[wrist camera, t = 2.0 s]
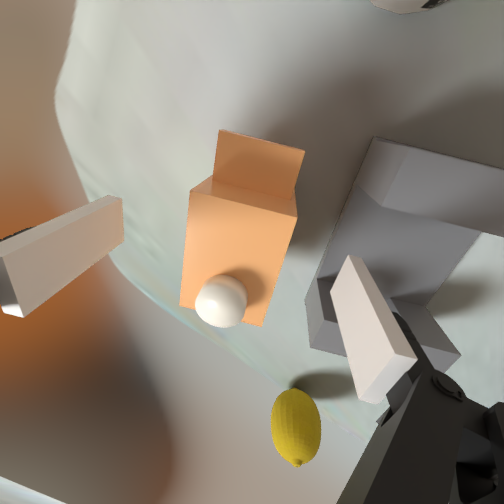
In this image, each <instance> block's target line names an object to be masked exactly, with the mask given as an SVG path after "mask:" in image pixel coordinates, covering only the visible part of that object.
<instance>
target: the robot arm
mask: <svg viewBox="0 0 504 504" xmlns="http://www.w3.org/2000/svg"><path fill="white" fill-rule="evenodd" d="M123 241H124V228H123V210H122V198H119V197H115V196H111V195H107V196H105V197H103V198H100V199H98V200H96V201H94V202H91V203H89V204H87V205H84V206H82V207H80V208H77V209H75V210H73V211H71V212H68V213H66V214H64V215H62V216H59V217H57V218H55V219H52V220H50V221H48V222H45V223H43V224H41V225H38V226H35V227H30V228H26V229H24V230H21V231H19V232H17V233H14V234H13V235H9V236H7V237H5V238H3V240H2V239H0V304H1V306H2V309H3V311H4V313H7V314H11V315H15V316H19V317H25V316H26V315H28V314H29V313H30V312H32V311H33V310H34V309H36V308H37V307H38V306H40V305H41V304H42V303H43V302H45V301H46V300H47V299H49V298H50V297H51V296H53V295H54V294H55V293H57V292H58V291H59V290H60V289H62V288H63V287H64V286H66V285H67V284H68V283H70V282H71V281H72V280H73V279H75V278H76V277H77V276H79V275H80V274H81V273H83V272H84V271H85V270H87V269H88V268H89V267H91V266H92V265H93V264H95V263H96V262H97V261H98V260H100V259H101V258H102V257H104V256H105V255H106V254H108V253H109V252H110V251H112V250H113V249H114V248H115V247H117V246H118V245H119V244H121V243H122V242H123ZM330 294H331V297H332V301H333V305H334V309H335V312H336V316H337V320H338V324H339V327H340V331H341V335H342V339H343V342H344V346H345V350H346V354H347V357H348V361H349V365H350V369H351V372H352V376H353V380H354V384H355V387H356V391H357V395H358V399H359V400H361V401H365V402H369V403H373V404H379V403H380V402H381V401H382V400H383V399H384V398H385V396H387V399H388V402H389V404H390V407H389V408H388V409H387V410H386V411H385V412H384V413H383V415H382V416H381V417H380V418H379V419H378V420H377V421H376V422H377V423H378V424H379V425H378V426H377V428H376V430H375V432H374V434H373V436H372V438H371V440H370V441H369V443H368V445H367V447H366V449H365V451H364V453H363V455H362V456H361V458H360V460H359V462H358V464H357V466H356V468H355V470H354V471H353V473H352V475H351V477H350V479H349V481H348V483H347V485H346V487H345V488H344V490H343V492H342V494H341V496H340V498H339V499H338V501H337V503H336V504H504V403H503V402H498V403H496V404H495V405H493V406H492V407H491V408H489V409H488V408H486V407H484V406H482V405H480V404H478V403H476V402H474V401H472V400H470V399H468V398H467V397H466V395H465V393H464V392H463V390H462V389H461V387H460V386H459V385H458V384H457V383H456V382H455V381H454V380H453V379H451V378H450V377H449V376H448V375H446V374H444V373H442V372H441V371H439V370H436V369H434V367H433V365H432V364H431V362H430V360H429V359H428V357H427V355H426V354H425V352H424V350H423V349H422V347H421V345H420V344H419V342H418V341H417V339H416V337H415V336H414V334H413V333H412V331H411V329H410V327H409V326H408V324H407V322H406V321H405V320H404V319H403V318H402V317H401V316H400V315H399V314H398V313H396V312H392V311H391V310H390V309H389V307H388V305H387V303H386V301H385V300H384V298H383V296H382V294H381V292H380V291H379V289H378V287H377V285H376V283H375V282H374V280H373V278H372V276H371V274H370V273H369V271H368V269H367V267H366V265H365V264H364V262H363V260H362V258H360V257H356V256H352V255H348V256H347V258H346V260H345V262H344V264H343V266H342V268H341V270H340V272H339V274H338V276H337V278H336V280H335V283H334V285H333V287H332V289H331V291H330Z"/></svg>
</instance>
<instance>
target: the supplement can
mask: <svg viewBox="0 0 504 504" xmlns="http://www.w3.org/2000/svg"><path fill="white" fill-rule="evenodd" d="M370 1H371V2H372V3H373V5H374V6H376V7H379V8H382V9H385V10H388V11H391V12H394V13H397V14H406V13H413V12H420V11H427V10H430V9H432V8H434V7H436V6H437V5H439V4H441V3H443V2H445V1H447V0H370Z"/></svg>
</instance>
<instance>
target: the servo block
mask: <svg viewBox="0 0 504 504" xmlns="http://www.w3.org/2000/svg"><path fill="white" fill-rule="evenodd" d="M304 154H305V151H304V150H302V149H299V148H295V147H291V146H287V145H283V144H279V143H275V142H271V141H267V140H263V139H259V138H255V137H251V136H247V135H243V134H239V133H235V132H231V131H227V130H219V134H218V141H217V148H216V156H215V163H214V171H213V175H212V176H210V177H209V178H207V179H206V180H204V181H203V182H202V183H200V184H199V185H197V186H196V187H194V188H193V189H191V190H190V197H189V207H188V218H187V229H186V240H185V251H184V262H183V272H182V283H181V294H180V305H179V306H183V307H187V308H190V309H194V310H196V311H197V313H198V315H199V316H200V317H201V318H202V319H203V320H204V321H205V322H207V323H209V324H211V325H213V326H216V327H232V326H234V325H237V324H238V323H239V322H240V321H241V322H244V323H248V324H252V325H256V326H260V327H262V324H263V321H264V318H265V315H266V312H267V309H268V306H269V303H270V300H271V297H272V294H273V291H274V288H275V285H276V282H277V279H278V276H279V273H280V270H281V266H282V263H283V260H284V257H285V254H286V251H287V248H288V245H289V242H290V239H291V236H292V233H293V230H294V227H295V224H296V221H297V218H298V217H297V207H296V198H295V189H294V187H295V184H296V180H297V177H298V174H299V171H300V167H301V164H302V161H303V157H304Z"/></svg>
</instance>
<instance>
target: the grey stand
mask: <svg viewBox="0 0 504 504" xmlns="http://www.w3.org/2000/svg"><path fill="white" fill-rule="evenodd" d="M481 232H485V233H489V234H493V235H497V236H501V237H504V169H502V168H498V167H494V166H490V165H486V164H482V163H478V162H474V161H470V160H466V159H462V158H458V157H454V156H450V155H446V154H442V153H438V152H434V151H430V150H426V149H422V148H418V147H414V146H410V145H406V144H403V143H399V142H395V141H391V140H387V139H383V138H379V137H373V139H372V141H371V144H370V146H369V148H368V151H367V153H366V156H365V158H364V160H363V163H362V165H361V167H360V170H359V172H358V174H357V177H356V179H355V182H354V184H353V186H352V189H351V191H350V193H349V196H348V198H347V201H346V203H345V205H344V208H343V210H342V212H341V215H340V217H339V219H338V222H337V224H336V227H335V229H334V231H333V234H332V236H331V238H330V241H329V243H328V245H327V248H326V250H325V253H324V255H323V257H322V260H321V262H320V264H319V267H318V269H317V271H316V274H315V276H314V279H313V281H312V283H311V286H310V288H309V290H308V293H307V295H306V298H305V305H306V311H307V321H308V331H309V341H310V348H314V349H318V350H321V351H325V352H329V353H333V354H337V355H341V356H344V357H347V354H346V350H345V346H344V342H343V339H342V335H341V331H340V327H339V324H338V320H337V316H336V312H335V309H334V305H333V301H332V297H331V294H330V291H331V289H332V287H333V285H334V283H335V280H336V278H337V276H338V274H339V272H340V270H341V268H342V266H343V264H344V262H345V260H346V258H347V256H348V255H352V256H356V257H360V258H362V260H363V262H364V264H365V265H366V267H367V269H368V271H369V273H370V274H371V276H372V278H373V280H374V282H375V283H376V285H377V287H378V289H379V291H380V292H381V294H382V296H383V298H384V300H385V301H386V303H387V305H388V307H389V309H390V310H391V311H392V312H396V313H398V314H399V315H400V316H401V317H402V318H403V319H404V320H405V321H406V322H407V324H408V326H409V327H410V329H411V331H412V333H413V334H414V336H415V337H416V339H417V341H418V342H419V344H420V345H421V347H422V349H423V350H424V352H425V354H426V355H427V357H428V359H429V360H430V362H431V364H432V365H433V367H434V369H436V370H439V371H441V372H442V373H445V372H446V371H447V370H448V368H449V367H450V366H451V365H452V364H453V363H454V362H455V361H456V360H457V359H458V358H459V357H460V356H461V354H460V353H459V352H458V350H457V349H456V347H455V346H454V345H453V343H452V342H451V341H450V339H449V338H448V337H447V335H446V334H445V333H444V331H443V330H442V329H441V327H440V326H439V325H438V323H437V322H436V321H435V319H434V318H433V317H432V315H431V314H430V313H429V311H428V310H427V309H426V307H425V306H426V304H427V303H428V302H429V300H430V299H431V298H432V296H433V295H434V294H435V293H436V291H437V290H438V289H439V287H440V286H441V285H442V283H443V282H444V281H445V279H446V278H447V277H448V275H449V274H450V273H451V271H452V270H453V269H454V267H455V266H456V265H457V263H458V262H459V261H460V259H461V258H462V257H463V255H464V254H465V253H466V251H467V250H468V249H469V248H470V246H471V245H472V244H473V242H474V241H475V240H476V238H477V237H478V236H479V234H480V233H481Z"/></svg>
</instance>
